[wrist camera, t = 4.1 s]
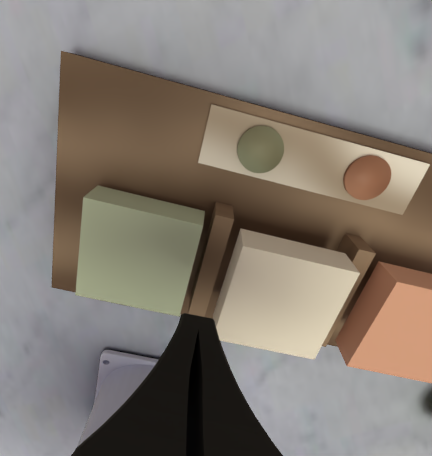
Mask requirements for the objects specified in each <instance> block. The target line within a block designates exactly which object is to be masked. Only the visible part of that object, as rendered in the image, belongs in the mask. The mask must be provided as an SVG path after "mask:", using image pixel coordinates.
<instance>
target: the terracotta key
mask: <svg viewBox="0 0 432 456" xmlns="http://www.w3.org/2000/svg"><path fill="white" fill-rule="evenodd" d="M335 341H336V343H337V345H338V348H339V350H340V352H341V354H342V356H343V359H344V361H345V363H346V365H347V366H349V367H354V368H359V369H364V370H369V371H374V372H379V373H384V374H389V375H394V376H399V377H404V378H409V379H414V380H419V381H423V382H428V383H432V274H430V273H426V272H422V271H417V270H413V269H409V268H405V267H401V266H396V265H392V264H388V263H384V262H380V261H378V263H377V265H376V267H375V269H374V271H373V272H372V274H371V276H370V278H369V280H368V281H367V283H366V285H365V287H364V289H363V290H362V292H361V294H360V296H359V298H358V300H357V301H356V303H355V305H354V307H353V309H352V310H351V312H350V314H349V316H348V318H347V320H346V321H345V323H344V325H343V327H342V329H341V330H340V332H339V334H338V336H337V338H336V340H335Z"/></svg>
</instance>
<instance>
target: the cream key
mask: <svg viewBox="0 0 432 456" xmlns="http://www.w3.org/2000/svg"><path fill="white" fill-rule="evenodd" d="M359 275H360V272H359V271H358V270H357V268H356V267H355V266H354V264H353V263H352V262H351V260H350V259H349V258H348V256H347V255H346V254H345V253H342V252H338V251H333V250H329V249H325V248H321V247H317V246H312V245H308V244H304V243H300V242H296V241H291V240H287V239H283V238H279V237H275V236H270V235H266V234H262V233H258V232H254V231H249V230H245V229H241V228H240V232H239V235H238V238H237V241H236V244H235V247H234V250H233V254H232V257H231V260H230V263H229V266H228V269H227V272H226V276H225V279H224V282H223V285H222V288H221V291H220V295H219V298H218V301H217V304H216V307H215V310H214V313H213V319H214V321H215V325H216V329H217V333H218V336H219V339H220V341H225V342H230V343H235V344H240V345H245V346H250V347H255V348H260V349H265V350H270V351H275V352H280V353H285V354H290V355H295V356H299V357H304V358H309V359H315V357H316V355H317V354H318V352H319V350H320V348H321V346H322V344H323V342H324V340H325V339H326V337H327V335H328V333H329V331H330V329H331V327H332V325H333V323H334V322H335V320H336V318H337V316H338V314H339V312H340V310H341V308H342V307H343V305H344V303H345V301H346V299H347V297H348V295H349V293H350V291H351V290H352V288H353V286H354V284H355V282H356V280H357V278H358V276H359Z"/></svg>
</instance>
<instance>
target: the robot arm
mask: <svg viewBox="0 0 432 456" xmlns="http://www.w3.org/2000/svg"><path fill="white" fill-rule="evenodd" d="M107 360H108V361H107ZM71 456H283V455H282V454H281V453H280V451H279V450H278V449H277V447H276V446H275V445H274V443H273V442H272V441H271V439H270V438H269V436H268V435H267V433H266V432H265V430H264V429H263V427H262V426H261V424H260V423H259V421H258V420H257V418H256V417H255V415H254V413H253V412H252V410H251V408H250V407H249V405H248V403H247V401H246V400H245V398H244V396H243V394H242V392H241V390H240V388H239V386H238V384H237V382H236V380H235V378H234V376H233V373H232V371H231V369H230V367H229V364H228V362H227V359H226V356H225V354H224V351H223V348H222V346H221V342H220V339H219V336H218V333H217V329H216V325H215V321H214V319H212V318H207V317H202V316H197V315H192V314H187V313H183V314H181V317H180V321H179V324H178V326H177V329H176V331H175V333H174V335H173V337H172V339H171V341H170V342H169V344H168V346H167V348H166V349H165V351H164V353H163V354H162V356H161V357H160V359H154V358H149V357H144V356H138V355H133V354H128V353H123V352H117V351H112V350H104V351H103V352H102V354H101V356H100V364H99V371H98V378H97V386H96V393H95V401H94V406H93V408H92V411H91V413H90V416H89V418H88V421H87V423H86V426H85V429H84V431H83V434H82V436H81V439H80V441H79V444H78V446H77V448H76V450H75V451H74V452H73V454H72V455H71Z"/></svg>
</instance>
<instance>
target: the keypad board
mask: <svg viewBox="0 0 432 456" xmlns="http://www.w3.org/2000/svg"><path fill="white" fill-rule="evenodd" d="M98 185H99V186H103V187H107V188H111V189H115V190H119V191H124V192H128V193H132V194H136V195H140V196H144V197H149V198H153V199H157V200H161V201H165V202H169V203H173V204H178V205H182V206H186V207H190V208H194V209H198V210H202V211H205V215H204V224H203V229H202V233H201V236H200V240H199V244H198V248H197V252H196V256H195V259H194V263H193V267H192V271H191V275H190V279H189V282H188V286H187V290H186V294H185V298H184V301H183V305H182V309H181V313H180V314H183V313H187V314H192V315H197V316H202V317H207V318H212V319H213V313H214V310H215V307H216V304H217V301H218V298H219V295H220V291H221V288H222V285H223V282H224V279H225V276H226V272H227V269H228V266H229V263H230V260H231V257H232V254H233V250H234V247H235V244H236V241H237V238H238V235H239V232H240V228H241V229H245V230H249V231H254V232H258V233H262V234H266V235H270V236H275V237H279V238H283V239H287V240H291V241H296V242H300V243H304V244H308V245H312V246H317V247H321V248H325V249H329V250H333V251H338V252H342V253H345V254H346V255H347V256H348V258H349V259H350V260H351V262H352V263H353V264H354V266H355V267H356V268H357V270H358V271H359V272H360V275H359V276H358V278H357V280H356V282H355V284H354V286H353V288H352V290H351V291H350V293H349V295H348V297H347V299H346V301H345V303H344V305H343V307H342V308H341V310H340V312H339V314H338V316H337V318H336V320H335V322H334V323H333V325H332V327H331V329H330V331H329V333H328V335H327V337H326V339H325V340H324V342H323V344H322V346H324V347H326V345H327V344H328V345H332V346H337V347H338V345H337V343H336V341H335V340H336V338H337V336H338V334H339V332H340V330H341V329H342V327H343V325H344V323H345V321H346V320H347V318H348V316H349V314H350V312H351V310H352V309H353V307H354V305H355V303H356V301H357V300H358V298H359V296H360V294H361V292H362V290H363V289H364V287H365V285H366V283H367V281H368V280H369V278H370V276H371V274H372V272H373V271H374V269H375V267H376V265H377V263H378V261H380V262H384V263H388V264H392V265H396V266H401V267H405V268H409V269H413V270H417V271H422V272H426V273H430V274H432V153H428V152H425V151H421V150H417V149H414V148H410V147H407V146H403V145H400V144H396V143H392V142H389V141H385V140H382V139H378V138H374V137H371V136H367V135H364V134H360V133H356V132H353V131H349V130H346V129H342V128H338V127H335V126H331V125H328V124H324V123H321V122H317V121H313V120H310V119H306V118H303V117H299V116H295V115H292V114H288V113H285V112H281V111H277V110H274V109H270V108H267V107H263V106H260V105H256V104H252V103H249V102H245V101H242V100H238V99H234V98H231V97H227V96H224V95H220V94H216V93H213V92H209V91H206V90H202V89H198V88H195V87H191V86H188V85H184V84H181V83H177V82H173V81H170V80H166V79H163V78H159V77H155V76H152V75H148V74H145V73H141V72H137V71H134V70H130V69H127V68H123V67H120V66H116V65H112V64H109V63H105V62H102V61H98V60H94V59H91V58H87V57H84V56H80V55H76V54H72V53H68V52H63V51H61V65H60V90H59V115H58V140H57V165H56V190H55V215H54V240H53V265H52V287H53V288H57V289H62V290H67V291H72V292H76V282H77V269H78V257H79V244H80V232H81V219H82V207H83V197H84V196H85V195H87V194H88V193H89V192H90V191H92V190H93V189H94V188H95V187H96V186H98Z"/></svg>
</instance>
